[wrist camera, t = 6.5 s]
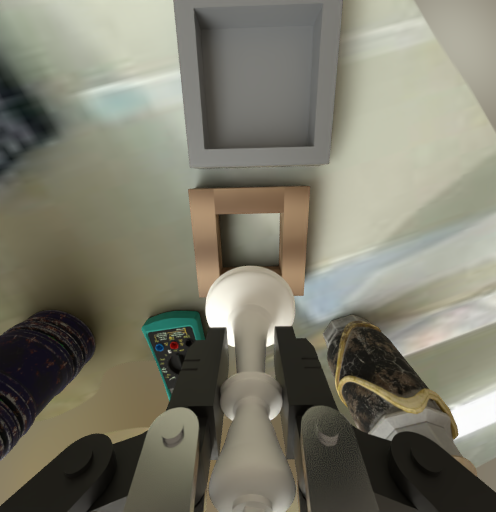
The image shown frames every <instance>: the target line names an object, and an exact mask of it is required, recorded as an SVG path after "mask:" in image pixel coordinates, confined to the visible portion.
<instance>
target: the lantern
mask: <svg viewBox="0 0 496 512" xmlns="http://www.w3.org/2000/svg"><path fill="white" fill-rule="evenodd" d="M323 336H324V339H325V342H326V345H327V348H328V353H327V360H328V364H329V367H330V369H331V372H332V374H333V376H334V378H335V385H336V389H337V392H338V394H339V397H340V398H341V400H342V402H343V403H344V404H345V405H346V406H347V407H348V409H349V411H350V413H351V415H352V417H353V419H354V422H355V424H356V426H357V428H358V429H359V430H361V431H363V432H365V433H368V434H371V435H374V436H377V437H380V438H383V439H387V440H390V441H392V439H393V437H394V436H395V435H396V434H397V433H399V432H403V431H410V432H415V433H418V434H421V435H423V436H425V437H427V438H429V439H431V440H432V441H434V442H435V443H437V444H438V445H439V446H440V447H442V448H443V449H444V450H445V451H446V452H448V453H449V454H450V455H451V456H452V457H454V458H455V459H456V460H457V461H458V462H460V463H461V464H462V465H463V466H464V467H466V468H467V469H468V470H469V471H470V472H472V473H473V474H474V475H475V476H476V477H477V472H476V468H475V467H474V465H473V464H472V463H471V462H470V461H469V460H467V459H466V458H464V457H463V456H462V455H461V453H460V452H459V450H458V449H457V447H456V446H455V444H454V442H453V439H455V438H456V437H457V436H458V429H457V425H456V423H455V421H454V418H453V416H452V413H451V411H450V409H449V407H448V406H447V405H446V404H445V403H444V401H443V400H442V399H441V398H440V396H439V395H438V394H437V393H435V392H434V391H432V390H430V389H429V388H428V387H427V386H426V385H425V383H424V382H423V381H422V380H421V378H420V377H419V376H418V375H417V373H416V372H415V371H414V370H413V369H412V367H411V366H410V365H409V364H408V362H407V361H406V360H405V359H404V357H403V356H402V355H401V354H400V352H399V351H398V350H397V349H396V347H395V346H394V345H393V344H392V342H391V341H390V340H389V339H388V338H387V337H386V336H385V335H384V334H383V333H381V330H380V329H379V328H378V327H377V326H374V325H372V324H370V323H369V322H368V321H367V320H366V319H363V318H361V317H358V316H355V315H349V316H346V317H343V318H339V319H336V320H333V321H331V322H330V324H329V325H328V327H327V328H326V330H325V331H324V333H323Z"/></svg>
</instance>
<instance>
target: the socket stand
mask: <svg viewBox="0 0 496 512" xmlns="http://www.w3.org/2000/svg"><path fill="white" fill-rule="evenodd" d="M188 192H189V202H190V212H191V221H192V231H193V241H194V250H195V260H196V269H197V279H198V289H199V297H207V294H208V292H209V289H210V287H211V286H212V284H213V283H214V282H215V280H216V279H217V278H219V277H220V276H221V275H222V274H224V273H225V272H227V271H229V270H231V269H234V268H237V267H223V265H222V250H221V234H220V218H219V214H253V213H280V242H279V266H264V267H263V268H267V269H269V270H272V271H274V272H275V273H277V274H278V275H280V276H281V277H282V278H283V279H284V280H285V281H286V282H287V283H288V285H289V286H290V288H291V290H292V293H293V296H303V295H304V279H305V263H306V246H307V230H308V214H309V197H310V186H265V187H224V188H194V189H188Z"/></svg>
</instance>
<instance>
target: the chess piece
mask: <svg viewBox="0 0 496 512" xmlns="http://www.w3.org/2000/svg"><path fill="white" fill-rule="evenodd" d="M294 317H295V301H294V296H293V293H292V290H291V288H290V286H289V285H288V283H287V282H286V281H285V280H284V279H283V278H282V277H281V276H280V275H278V274H277V273H275V272H274V271H272V270H269V269H267V268H263V267H259V266H242V267H237V268H234V269H231V270H229V271H227V272H225V273H224V274H222V275H221V276H220V277H219V278H217V279H216V280H215V282H214V283H213V284H212V286H211V287H210V289H209V292H208V294H207V298H206V318H207V322H208V324H209V326H210V327H226V328H227V339H228V344H229V345H231V346H233V347H235V352H236V365H237V374H234V375H232V376H231V377H229V378H228V379H227V380H226V381H225V382H224V383H223V384H222V386H221V388H220V396H221V397H220V406H221V409H222V411H223V413H224V414H225V415H226V416H227V417H228V418H229V419H231V420H232V423H231V426H230V428H229V431H228V434H227V438H226V440H225V443H224V446H223V448H222V451H221V453H220V455H219V457H218V459H217V461H216V464H215V466H214V469H213V472H212V475H211V478H210V482H209V496H210V499H211V501H212V503H213V505H214V506H215V507H216V509H217V510H218V511H219V512H285V511H286V510H287V509H288V508H289V507H290V506H291V504H292V502H293V500H294V497H295V493H296V487H295V481H294V478H293V475H292V472H291V469H290V467H289V464H288V462H287V459H286V457H285V456H284V454H283V452H282V450H281V447H280V445H279V442H278V440H277V437H276V433H275V430H274V428H273V426H272V423H271V421H270V420H272V419H273V418H275V417H276V416H277V415H278V413H279V412H280V410H281V408H282V404H283V399H282V387H281V385H280V384H279V382H278V381H277V380H276V379H275V378H273V377H272V376H270V375H268V374H266V373H265V357H266V347H267V346H270V345H272V344H274V328H275V326H292V323H293V321H294Z"/></svg>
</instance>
